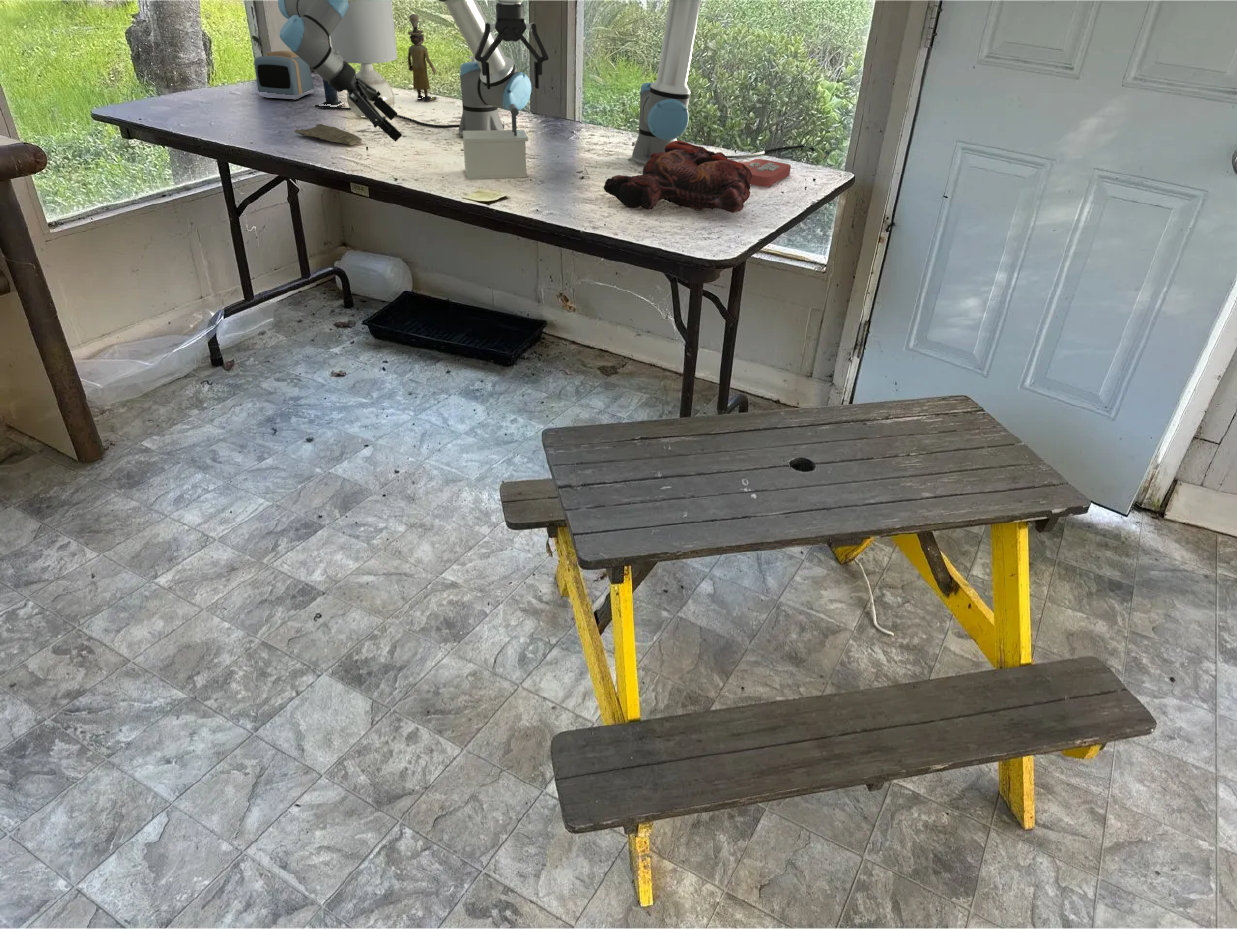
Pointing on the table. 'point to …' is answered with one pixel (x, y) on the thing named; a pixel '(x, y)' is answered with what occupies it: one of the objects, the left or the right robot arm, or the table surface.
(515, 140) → the lid
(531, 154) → the table surface
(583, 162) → the table surface
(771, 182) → the plaque
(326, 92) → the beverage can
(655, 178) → the sculpture
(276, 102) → the table surface
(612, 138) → the table surface
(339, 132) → the stone tool
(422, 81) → the figurine
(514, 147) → the chest
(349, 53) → the lamp
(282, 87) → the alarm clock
